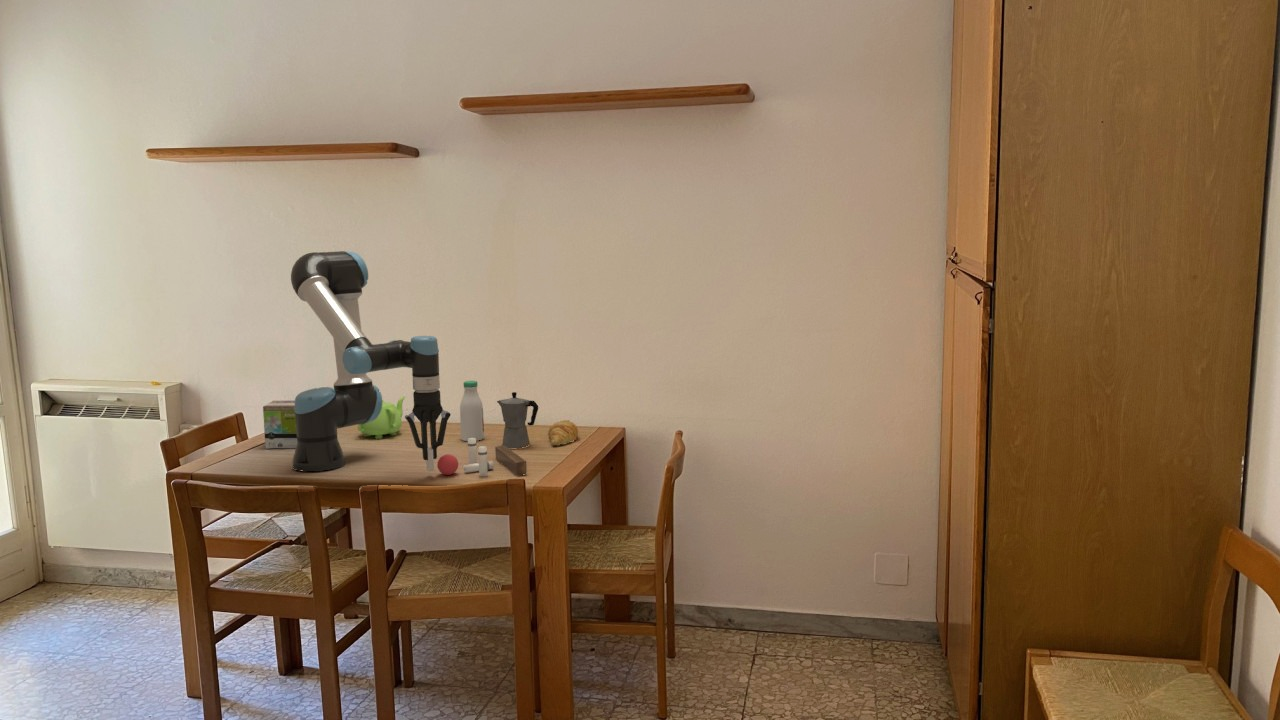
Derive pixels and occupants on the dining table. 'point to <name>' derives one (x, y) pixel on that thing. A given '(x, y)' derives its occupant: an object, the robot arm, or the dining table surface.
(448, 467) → the ball
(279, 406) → the tea box
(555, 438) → the croissant
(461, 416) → the milk bottle
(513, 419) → the coffeepot
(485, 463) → the pin
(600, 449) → the dining table surface
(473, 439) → the pin
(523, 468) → the brown long rectangular bar
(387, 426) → the green lumpy piece
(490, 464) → the front pin
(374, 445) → the dining table surface
